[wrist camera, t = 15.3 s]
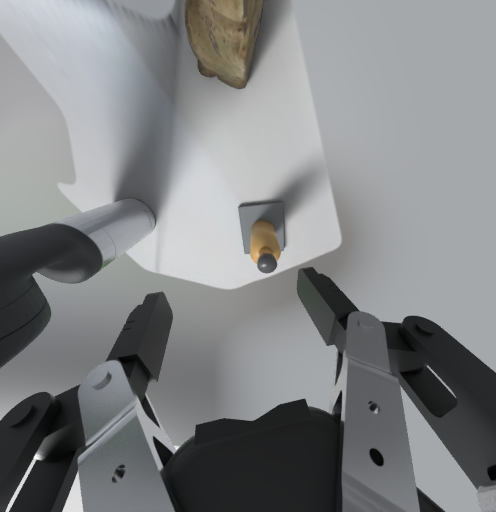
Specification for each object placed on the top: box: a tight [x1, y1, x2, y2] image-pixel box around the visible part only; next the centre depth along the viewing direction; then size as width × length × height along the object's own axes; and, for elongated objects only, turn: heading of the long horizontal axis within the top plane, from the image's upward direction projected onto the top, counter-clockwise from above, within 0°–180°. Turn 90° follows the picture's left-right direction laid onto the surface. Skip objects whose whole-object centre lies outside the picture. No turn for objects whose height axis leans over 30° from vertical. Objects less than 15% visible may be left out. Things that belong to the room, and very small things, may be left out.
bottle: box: [250, 220, 281, 273], centre depth 36 cm, size 6×6×15 cm
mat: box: [238, 202, 284, 254], centre depth 43 cm, size 10×12×1 cm
